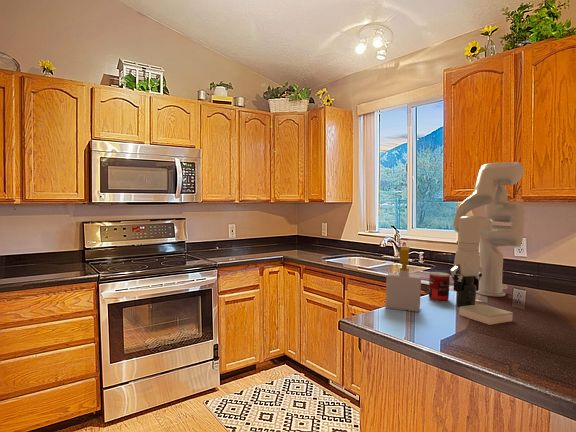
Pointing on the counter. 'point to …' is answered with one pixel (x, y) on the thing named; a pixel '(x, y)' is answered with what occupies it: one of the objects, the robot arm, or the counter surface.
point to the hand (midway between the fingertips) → (466, 290)
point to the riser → (486, 314)
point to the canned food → (439, 286)
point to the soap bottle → (403, 287)
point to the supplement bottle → (467, 292)
